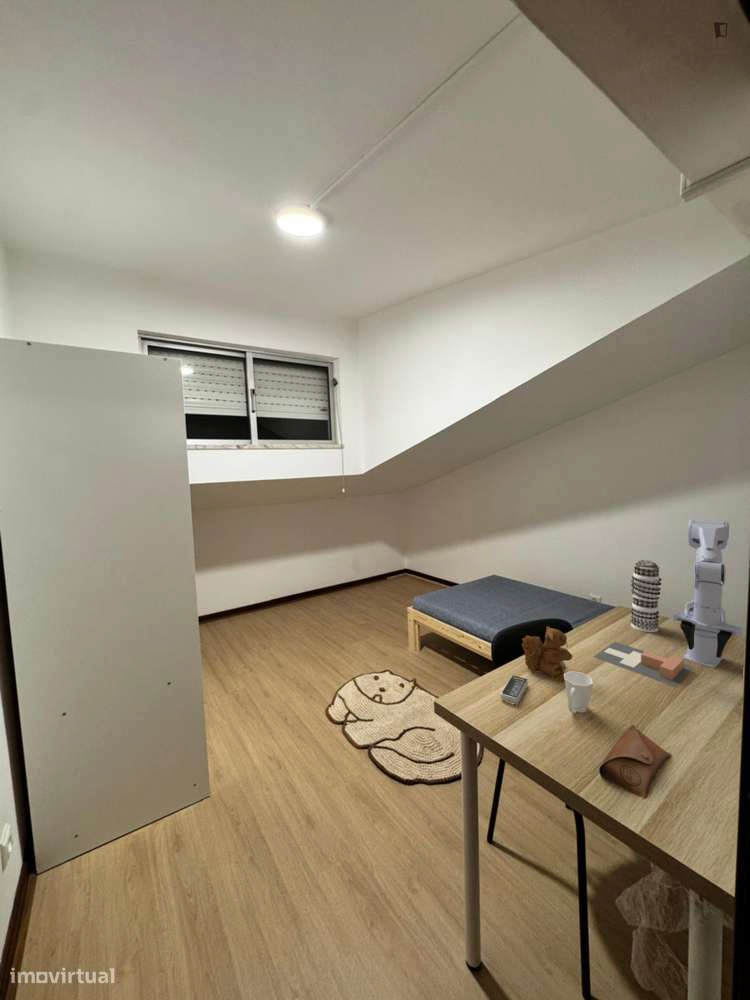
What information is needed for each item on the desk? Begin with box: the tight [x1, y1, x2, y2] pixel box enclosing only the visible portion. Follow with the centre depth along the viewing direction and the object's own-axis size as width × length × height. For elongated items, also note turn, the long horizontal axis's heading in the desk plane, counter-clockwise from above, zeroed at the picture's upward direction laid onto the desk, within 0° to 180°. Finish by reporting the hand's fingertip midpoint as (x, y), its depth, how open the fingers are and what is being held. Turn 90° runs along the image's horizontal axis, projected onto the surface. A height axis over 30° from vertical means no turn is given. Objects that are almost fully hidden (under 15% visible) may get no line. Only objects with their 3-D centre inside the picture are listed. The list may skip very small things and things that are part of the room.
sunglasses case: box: [598, 724, 672, 800], centre depth 83 cm, size 18×7×7 cm, turn 131°
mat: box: [593, 641, 695, 688], centre depth 122 cm, size 16×22×1 cm
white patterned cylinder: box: [630, 560, 663, 633], centre depth 145 cm, size 9×9×25 cm
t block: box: [641, 651, 685, 680], centre depth 118 cm, size 10×9×3 cm
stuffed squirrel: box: [521, 626, 573, 682], centre depth 119 cm, size 10×14×13 cm
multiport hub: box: [500, 674, 529, 704], centre depth 109 cm, size 4×11×2 cm, turn 145°
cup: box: [564, 670, 594, 714], centre depth 100 cm, size 7×10×8 cm
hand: (704, 652), depth 109 cm, fingers open, 5 cm apart
